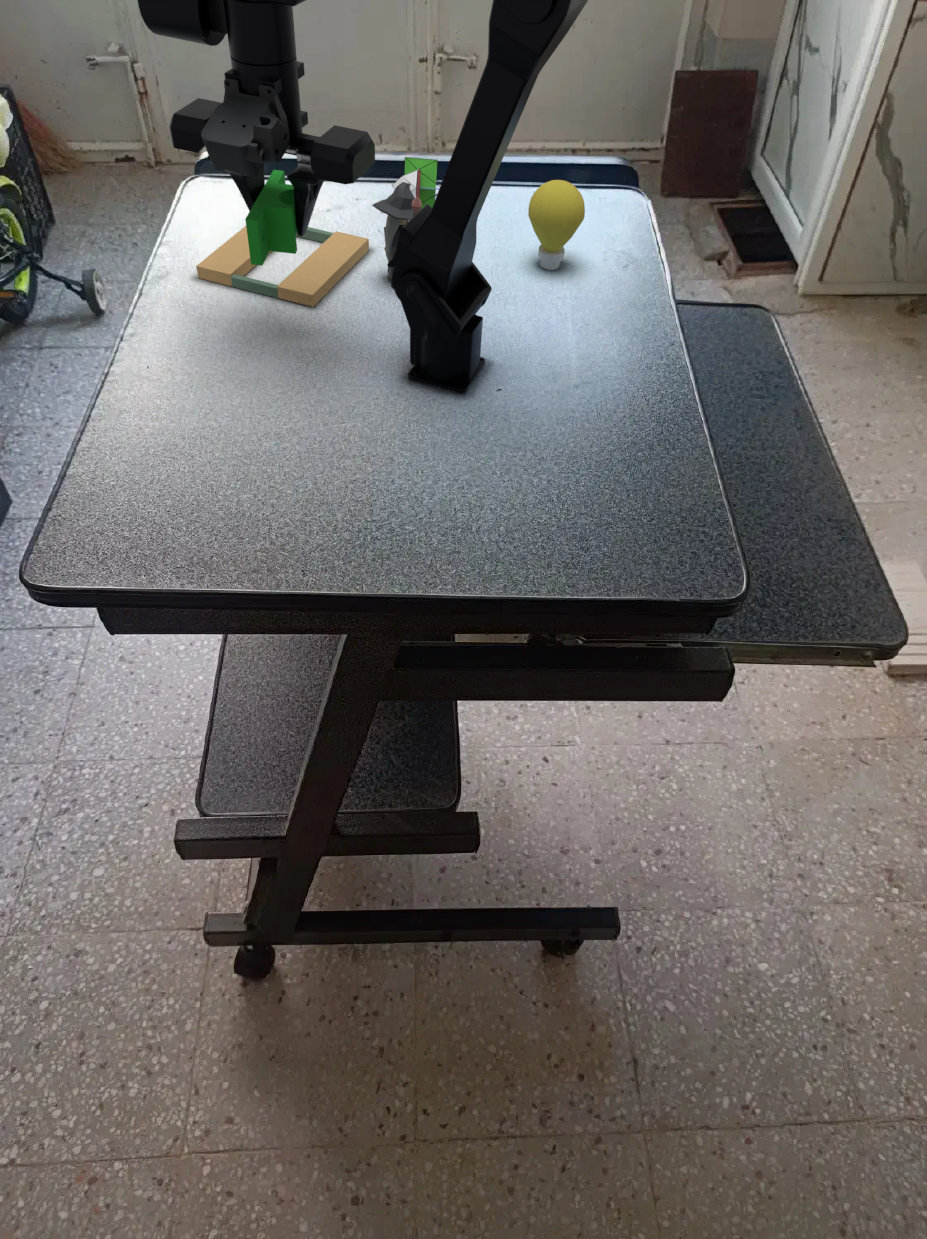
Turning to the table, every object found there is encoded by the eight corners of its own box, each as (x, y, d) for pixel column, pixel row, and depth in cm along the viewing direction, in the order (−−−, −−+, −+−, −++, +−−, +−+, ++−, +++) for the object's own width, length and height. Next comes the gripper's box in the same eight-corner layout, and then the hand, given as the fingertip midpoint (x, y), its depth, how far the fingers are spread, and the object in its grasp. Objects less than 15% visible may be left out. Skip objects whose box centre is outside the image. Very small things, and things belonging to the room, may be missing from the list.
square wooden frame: (369, 250, 111) (368, 238, 110) (313, 307, 102) (312, 295, 101) (262, 225, 114) (260, 213, 113) (198, 278, 105) (196, 266, 104)
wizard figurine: (366, 278, 107) (362, 174, 98) (401, 263, 109) (400, 160, 100) (413, 305, 103) (414, 200, 94) (448, 289, 106) (452, 186, 97)
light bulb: (538, 246, 114) (547, 165, 106) (585, 262, 112) (598, 179, 104) (513, 267, 110) (520, 184, 103) (561, 284, 108) (573, 200, 100)
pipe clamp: (289, 269, 87) (284, 223, 84) (251, 265, 88) (244, 219, 84) (312, 216, 95) (309, 172, 91) (277, 213, 95) (273, 168, 91)
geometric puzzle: (399, 176, 121) (393, 140, 113) (450, 180, 121) (447, 144, 113) (393, 227, 120) (387, 194, 112) (444, 231, 120) (441, 199, 112)
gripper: (117, 64, 75) (155, 245, 87) (320, 104, 72) (332, 287, 83) (187, 27, 82) (214, 199, 94) (375, 62, 79) (379, 236, 91)
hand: (281, 230), depth 90 cm, fingers closed on pipe clamp, 4 cm apart
